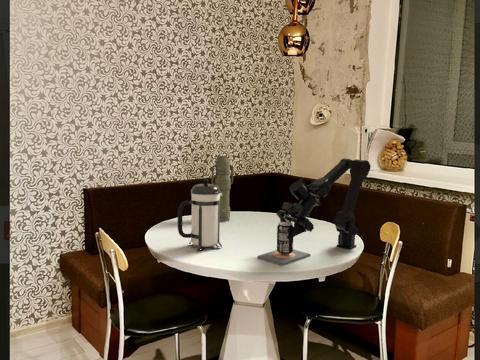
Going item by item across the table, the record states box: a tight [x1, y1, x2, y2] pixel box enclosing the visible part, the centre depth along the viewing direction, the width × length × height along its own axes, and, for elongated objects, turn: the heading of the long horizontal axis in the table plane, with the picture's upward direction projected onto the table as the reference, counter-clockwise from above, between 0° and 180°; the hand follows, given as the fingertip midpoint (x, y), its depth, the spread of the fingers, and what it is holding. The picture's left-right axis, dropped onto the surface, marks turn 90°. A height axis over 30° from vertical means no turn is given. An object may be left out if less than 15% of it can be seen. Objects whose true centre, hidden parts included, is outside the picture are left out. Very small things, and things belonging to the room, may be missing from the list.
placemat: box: [257, 248, 311, 267], centre depth 187 cm, size 13×18×1 cm
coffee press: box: [177, 178, 223, 251], centre depth 197 cm, size 17×16×30 cm
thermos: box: [211, 155, 234, 222], centre depth 249 cm, size 9×12×35 cm
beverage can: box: [276, 221, 294, 254], centre depth 186 cm, size 7×7×12 cm
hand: (282, 236), depth 186 cm, fingers closed on beverage can, 6 cm apart
